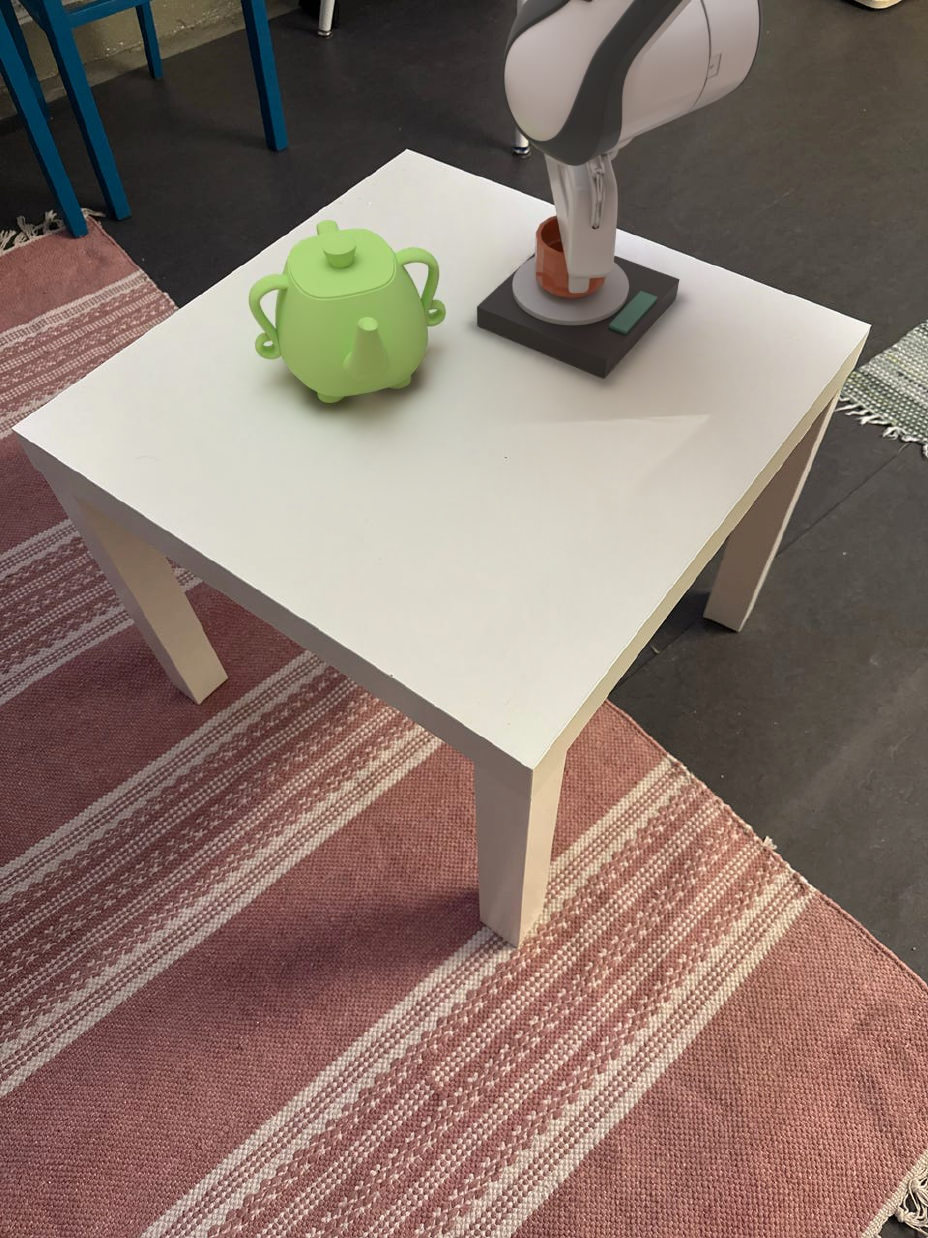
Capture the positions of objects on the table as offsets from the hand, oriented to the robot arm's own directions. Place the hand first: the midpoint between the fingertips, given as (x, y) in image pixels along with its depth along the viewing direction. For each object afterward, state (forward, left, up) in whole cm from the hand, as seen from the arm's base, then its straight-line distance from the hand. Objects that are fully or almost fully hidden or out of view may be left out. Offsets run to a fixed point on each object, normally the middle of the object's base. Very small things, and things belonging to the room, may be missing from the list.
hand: (571, 261), depth 85 cm
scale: (-1, +1, -5) cm, 5 cm away
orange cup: (0, 0, -2) cm, 2 cm away
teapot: (+20, +8, -5) cm, 22 cm away
